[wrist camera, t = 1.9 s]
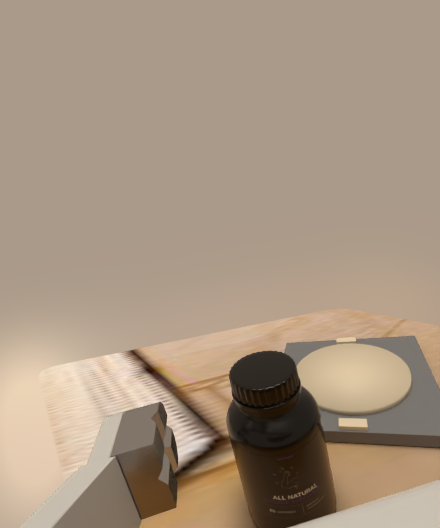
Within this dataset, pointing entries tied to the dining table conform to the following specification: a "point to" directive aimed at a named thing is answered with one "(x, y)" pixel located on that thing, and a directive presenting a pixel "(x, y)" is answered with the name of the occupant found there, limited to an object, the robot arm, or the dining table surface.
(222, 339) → the dining table surface
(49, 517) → the robot arm
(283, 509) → the supplement bottle
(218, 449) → the dining table surface
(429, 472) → the dining table surface
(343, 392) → the slate board
